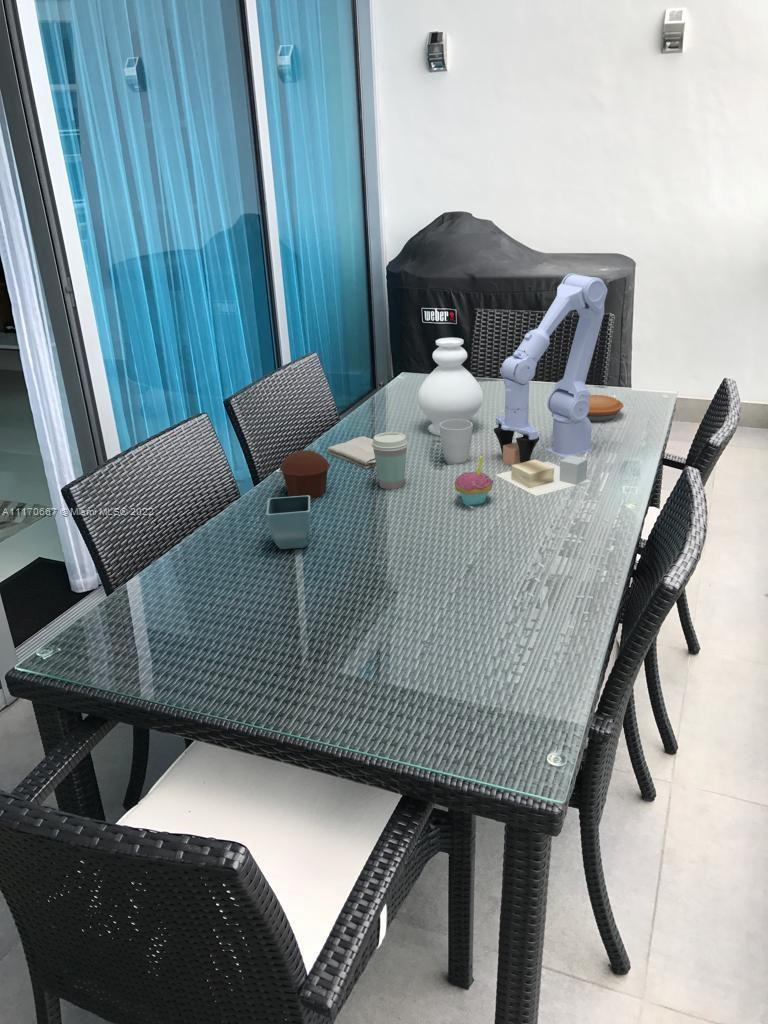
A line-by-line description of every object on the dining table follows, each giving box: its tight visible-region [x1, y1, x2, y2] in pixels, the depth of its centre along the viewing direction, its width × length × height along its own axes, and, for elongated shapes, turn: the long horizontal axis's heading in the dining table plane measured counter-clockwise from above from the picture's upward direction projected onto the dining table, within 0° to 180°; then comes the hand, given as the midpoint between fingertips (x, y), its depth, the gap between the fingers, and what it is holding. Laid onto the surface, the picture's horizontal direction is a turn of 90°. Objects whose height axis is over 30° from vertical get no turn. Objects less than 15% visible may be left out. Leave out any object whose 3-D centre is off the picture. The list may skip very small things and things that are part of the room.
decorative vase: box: [417, 337, 484, 437], centre depth 240 cm, size 18×18×25 cm
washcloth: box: [326, 435, 377, 470], centre depth 228 cm, size 12×18×3 cm, turn 41°
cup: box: [440, 419, 473, 466], centre depth 219 cm, size 8×8×10 cm
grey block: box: [559, 455, 588, 486], centre depth 204 cm, size 4×4×5 cm
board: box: [495, 461, 591, 497], centre depth 208 cm, size 16×16×1 cm
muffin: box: [279, 449, 331, 501], centre depth 205 cm, size 12×11×10 cm
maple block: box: [511, 459, 554, 488], centre depth 205 cm, size 7×7×4 cm
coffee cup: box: [372, 431, 409, 490], centre depth 207 cm, size 8×8×12 cm
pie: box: [586, 394, 624, 423], centre depth 250 cm, size 15×16×5 cm
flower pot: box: [265, 495, 311, 550], centre depth 180 cm, size 9×9×9 cm
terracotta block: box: [502, 441, 520, 467], centre depth 217 cm, size 4×4×5 cm
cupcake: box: [454, 453, 494, 507], centre depth 195 cm, size 9×8×12 cm
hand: (515, 459), depth 217 cm, fingers open, 7 cm apart
